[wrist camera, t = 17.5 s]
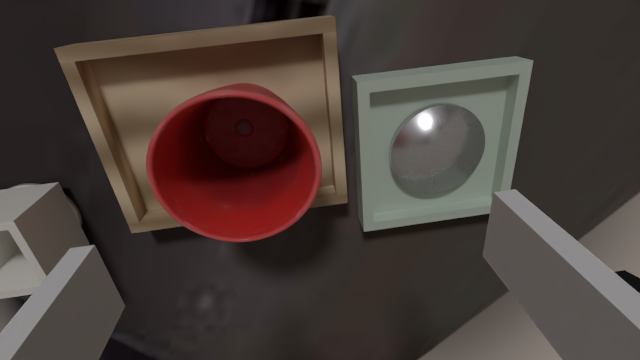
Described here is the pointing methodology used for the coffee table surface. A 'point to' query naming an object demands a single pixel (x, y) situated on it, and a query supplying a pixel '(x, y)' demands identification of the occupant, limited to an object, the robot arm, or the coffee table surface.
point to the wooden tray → (196, 78)
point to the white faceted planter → (35, 235)
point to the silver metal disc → (437, 148)
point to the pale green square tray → (421, 90)
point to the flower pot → (234, 164)
